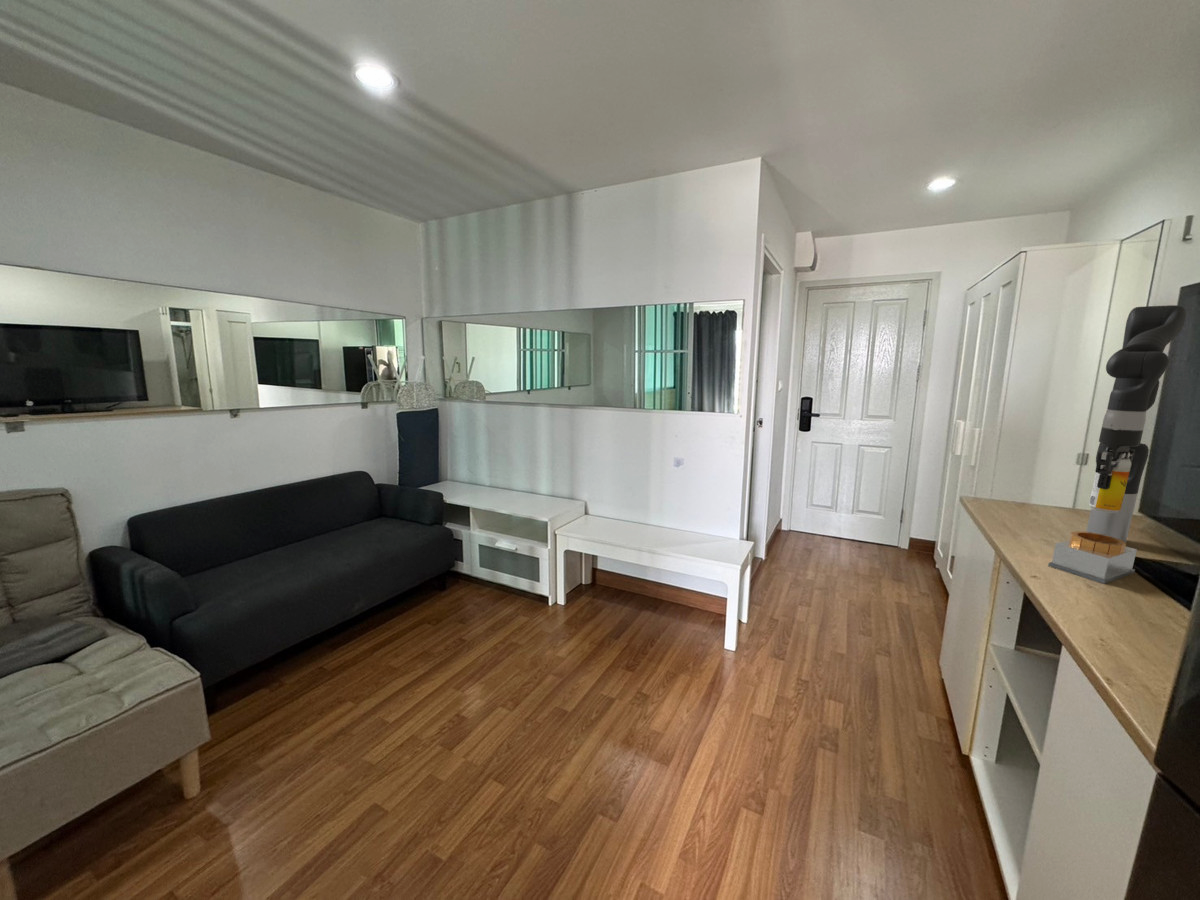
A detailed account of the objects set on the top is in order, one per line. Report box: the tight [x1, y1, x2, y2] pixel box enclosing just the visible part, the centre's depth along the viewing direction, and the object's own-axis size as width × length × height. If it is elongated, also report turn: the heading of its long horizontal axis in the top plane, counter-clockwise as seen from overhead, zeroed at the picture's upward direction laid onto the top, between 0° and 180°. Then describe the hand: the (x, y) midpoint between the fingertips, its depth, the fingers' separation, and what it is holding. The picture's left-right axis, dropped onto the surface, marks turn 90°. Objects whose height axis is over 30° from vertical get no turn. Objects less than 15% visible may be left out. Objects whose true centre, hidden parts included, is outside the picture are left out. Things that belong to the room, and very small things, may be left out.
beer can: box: [1088, 458, 1131, 513], centre depth 127 cm, size 6×6×15 cm
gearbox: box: [1047, 530, 1138, 585], centre depth 132 cm, size 21×12×10 cm, turn 113°
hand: (1108, 487), depth 127 cm, fingers closed on beer can, 6 cm apart
